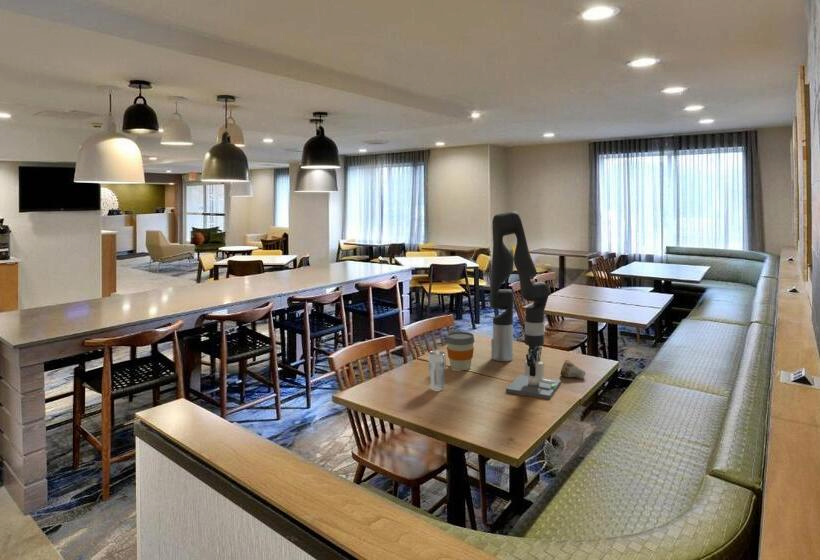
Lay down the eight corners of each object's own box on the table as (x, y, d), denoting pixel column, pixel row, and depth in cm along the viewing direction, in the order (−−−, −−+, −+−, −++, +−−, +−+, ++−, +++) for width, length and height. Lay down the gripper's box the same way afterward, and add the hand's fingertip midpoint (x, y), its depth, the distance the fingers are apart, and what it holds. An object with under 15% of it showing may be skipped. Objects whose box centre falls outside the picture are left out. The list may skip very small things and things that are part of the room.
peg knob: (523, 383, 206) (523, 362, 205) (527, 380, 210) (527, 359, 208) (549, 388, 201) (549, 366, 199) (552, 384, 204) (552, 362, 203)
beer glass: (427, 386, 211) (427, 350, 209) (444, 385, 212) (444, 349, 210) (429, 392, 205) (429, 355, 202) (447, 391, 205) (446, 354, 203)
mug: (585, 382, 212) (573, 362, 211) (565, 387, 218) (553, 367, 218) (590, 372, 218) (578, 352, 217) (570, 378, 224) (558, 359, 223)
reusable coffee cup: (462, 361, 242) (462, 330, 240) (480, 368, 232) (480, 335, 229) (441, 366, 235) (440, 334, 233) (458, 374, 225) (458, 340, 223)
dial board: (506, 392, 203) (506, 386, 202) (519, 377, 218) (519, 372, 218) (549, 399, 195) (549, 392, 194) (560, 383, 210) (560, 377, 210)
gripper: (538, 337, 195) (538, 381, 198) (548, 329, 207) (547, 370, 210) (519, 335, 199) (519, 378, 202) (530, 327, 211) (529, 368, 213)
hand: (533, 374), depth 206 cm, fingers closed on peg knob, 2 cm apart
